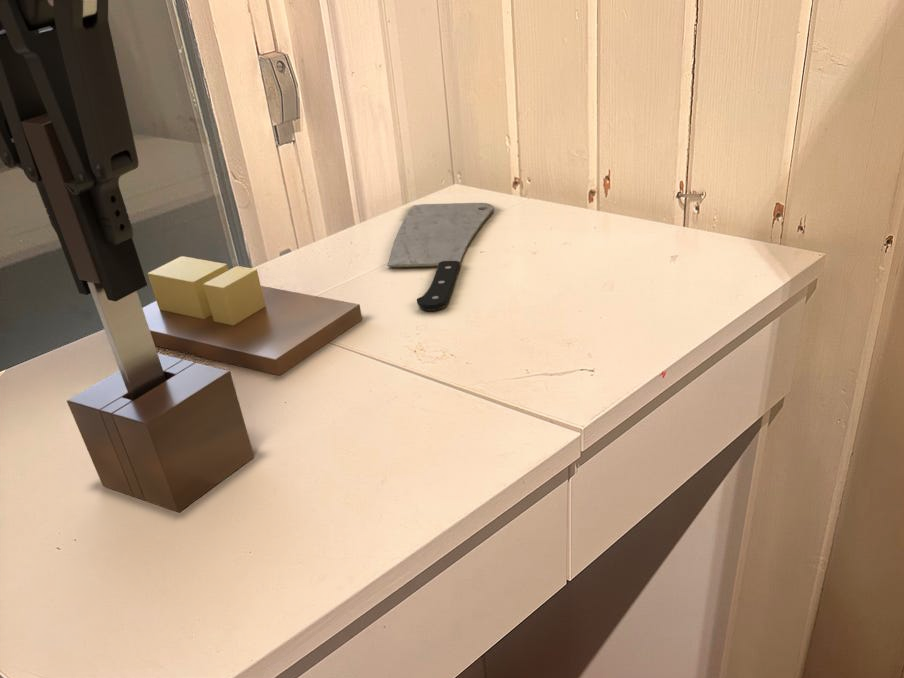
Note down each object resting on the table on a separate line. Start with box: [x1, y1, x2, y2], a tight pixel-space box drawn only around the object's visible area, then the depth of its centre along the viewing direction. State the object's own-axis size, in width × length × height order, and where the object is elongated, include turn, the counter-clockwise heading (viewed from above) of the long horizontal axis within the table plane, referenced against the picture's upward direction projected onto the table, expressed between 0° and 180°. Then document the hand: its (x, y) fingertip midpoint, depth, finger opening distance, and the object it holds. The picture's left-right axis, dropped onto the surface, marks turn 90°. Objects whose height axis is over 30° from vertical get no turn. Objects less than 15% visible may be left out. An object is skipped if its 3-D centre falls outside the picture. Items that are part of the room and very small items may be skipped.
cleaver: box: [386, 202, 495, 311], centre depth 96 cm, size 29×1×10 cm
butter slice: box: [203, 265, 266, 326], centre depth 84 cm, size 2×4×4 cm, turn 149°
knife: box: [21, 113, 166, 401], centre depth 59 cm, size 2×3×19 cm, turn 149°
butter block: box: [147, 255, 230, 319], centre depth 86 cm, size 6×4×4 cm
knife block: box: [66, 352, 255, 513], centre depth 66 cm, size 8×8×7 cm
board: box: [142, 285, 363, 376], centre depth 86 cm, size 20×12×2 cm, turn 59°
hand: (113, 288), depth 59 cm, fingers closed on knife, 2 cm apart
